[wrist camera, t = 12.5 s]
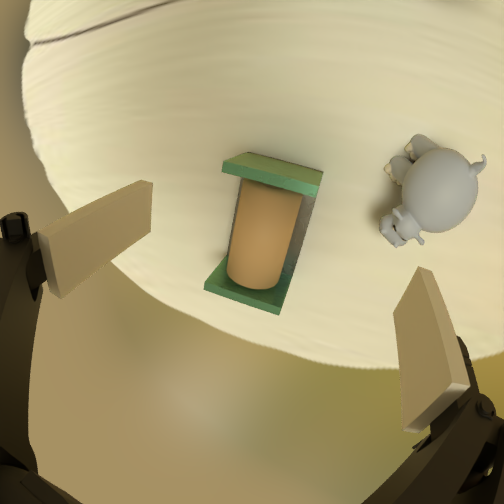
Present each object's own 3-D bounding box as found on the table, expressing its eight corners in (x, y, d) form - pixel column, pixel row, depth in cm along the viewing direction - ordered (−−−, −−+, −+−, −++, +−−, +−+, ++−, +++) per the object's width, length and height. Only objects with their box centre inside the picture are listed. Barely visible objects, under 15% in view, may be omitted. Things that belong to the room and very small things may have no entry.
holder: (248, 152, 37) (223, 161, 29) (323, 172, 36) (318, 186, 28) (227, 258, 45) (203, 289, 37) (291, 279, 43) (279, 315, 36)
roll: (251, 172, 37) (236, 184, 30) (305, 186, 36) (301, 201, 30) (234, 254, 42) (219, 279, 36) (282, 268, 42) (274, 296, 35)
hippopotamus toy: (353, 197, 36) (357, 220, 28) (429, 118, 29) (457, 118, 20) (405, 252, 37) (419, 288, 28) (478, 181, 29) (512, 199, 21)
